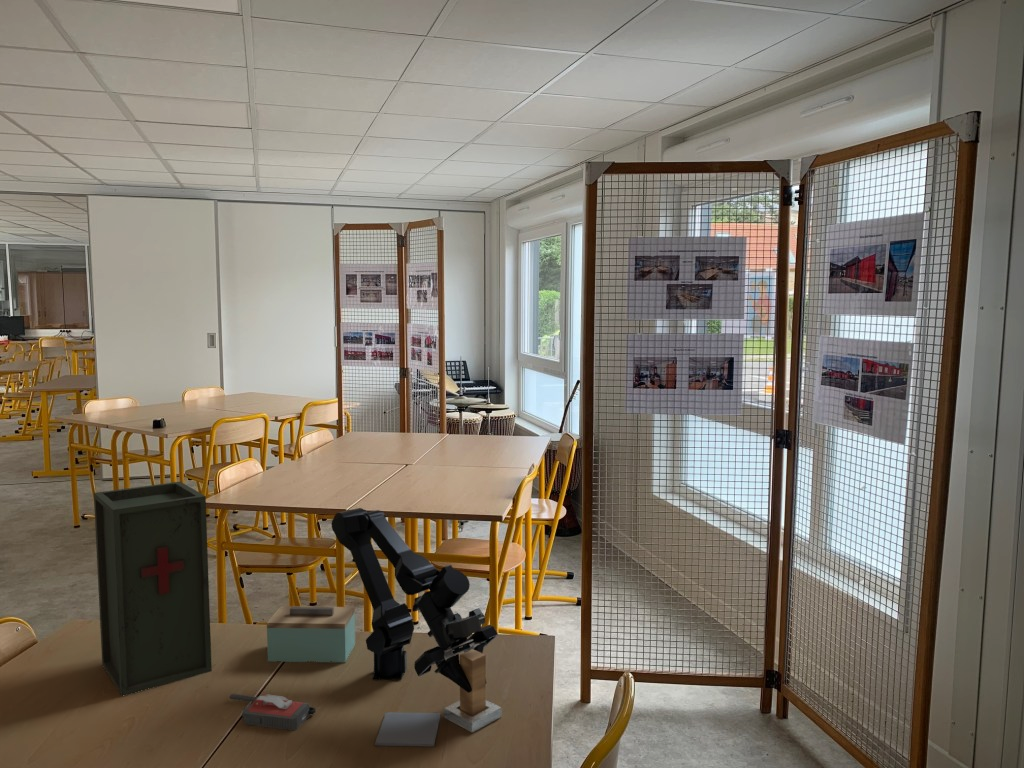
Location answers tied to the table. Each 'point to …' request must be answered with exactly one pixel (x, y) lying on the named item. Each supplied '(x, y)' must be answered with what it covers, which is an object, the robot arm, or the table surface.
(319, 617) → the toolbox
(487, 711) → the white square ring
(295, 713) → the walkie-talkie
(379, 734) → the grey square plate
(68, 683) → the table surface
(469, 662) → the tall wooden block
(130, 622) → the first aid box
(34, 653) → the table surface
